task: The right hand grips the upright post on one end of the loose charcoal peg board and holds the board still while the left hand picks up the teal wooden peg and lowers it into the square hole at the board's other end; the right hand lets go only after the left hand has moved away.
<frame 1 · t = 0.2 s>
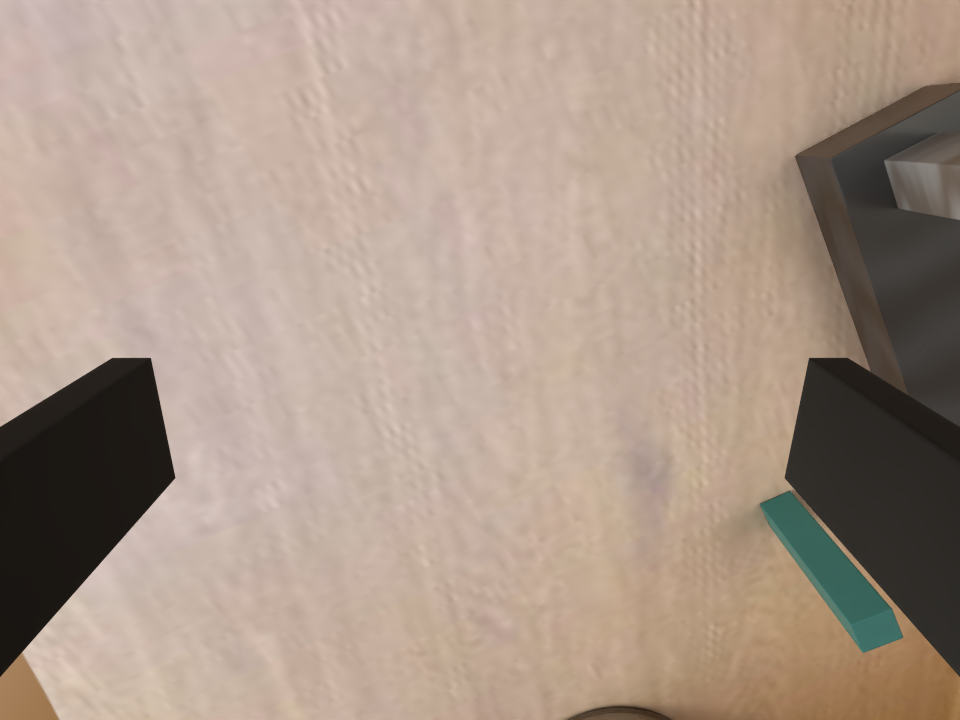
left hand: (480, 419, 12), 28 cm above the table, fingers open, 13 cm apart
peg board: (916, 305, 40), on the table
peg: (780, 508, 46), on the table
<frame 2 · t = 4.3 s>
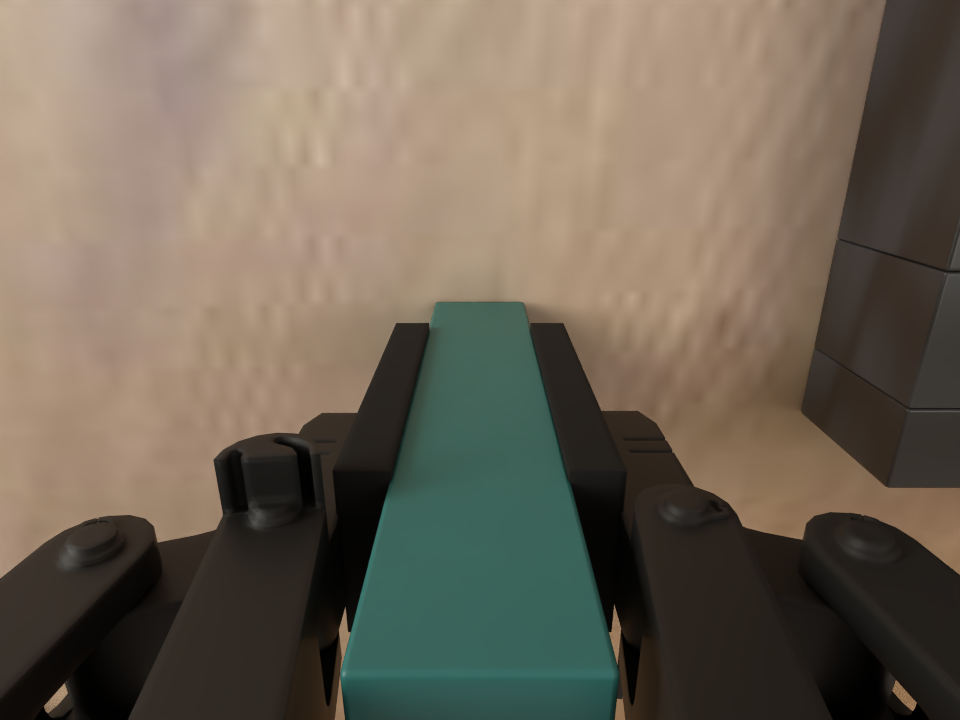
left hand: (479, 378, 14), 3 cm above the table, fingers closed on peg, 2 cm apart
peg: (479, 343, 17), on the table, touching left hand
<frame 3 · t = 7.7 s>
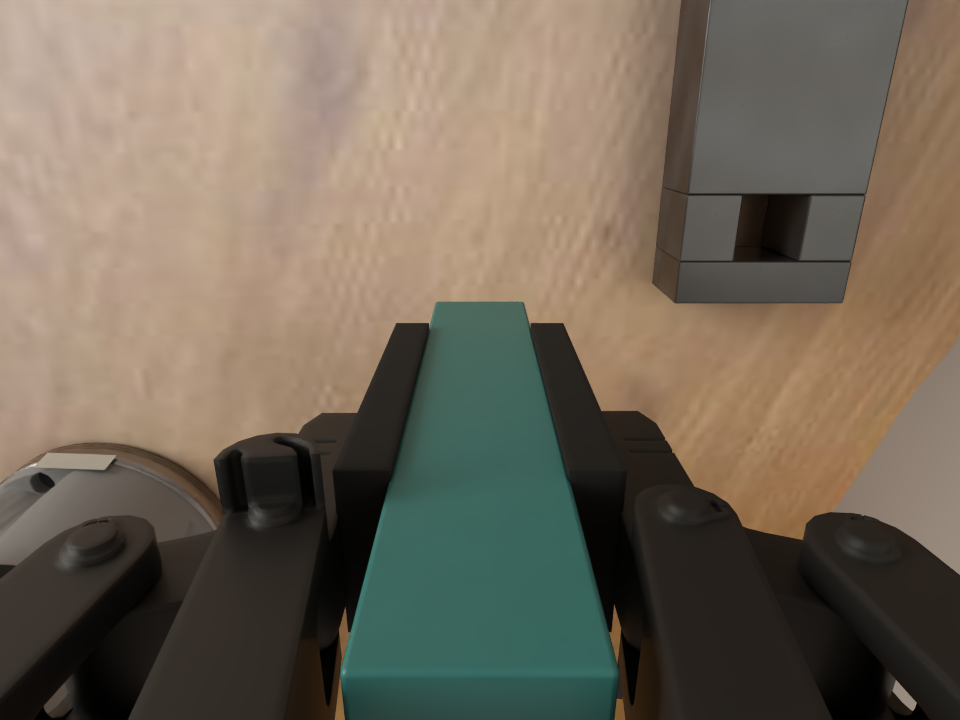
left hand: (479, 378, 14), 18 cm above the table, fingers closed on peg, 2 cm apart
peg board: (767, 7, 28), on the table, touching right hand
peg: (479, 343, 17), point 16 cm above the table, touching left hand
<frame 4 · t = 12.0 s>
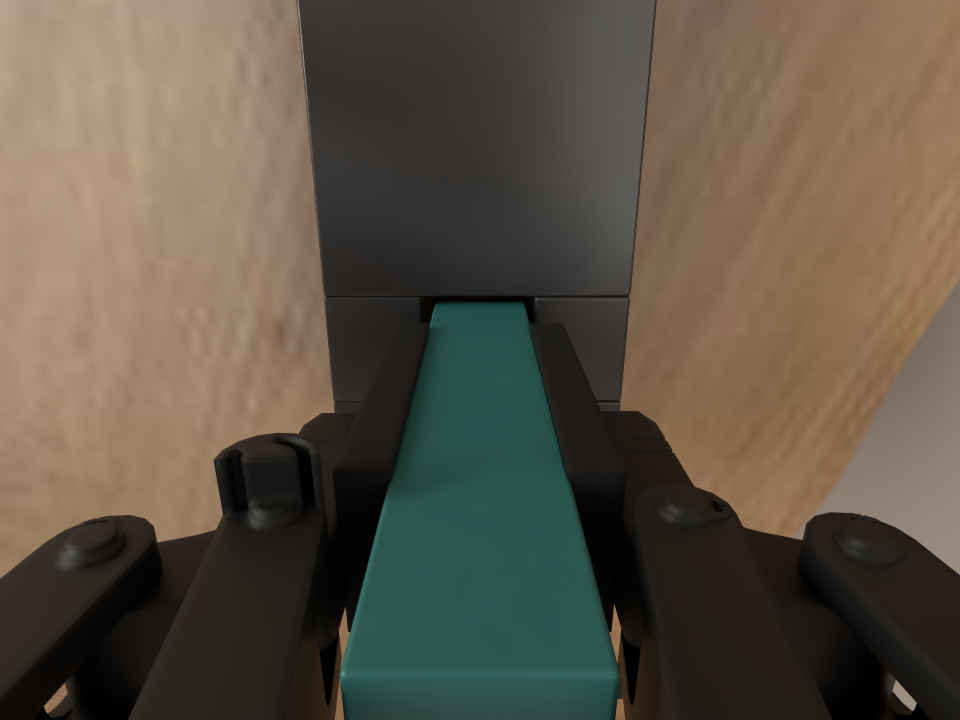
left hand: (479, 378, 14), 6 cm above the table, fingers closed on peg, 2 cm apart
peg: (479, 343, 17), point 3 cm above the table, touching left hand
when the left hand's fingers open (5 cm above the table, at t = 12.8 s): peg drops 3 cm, resting in peg board.
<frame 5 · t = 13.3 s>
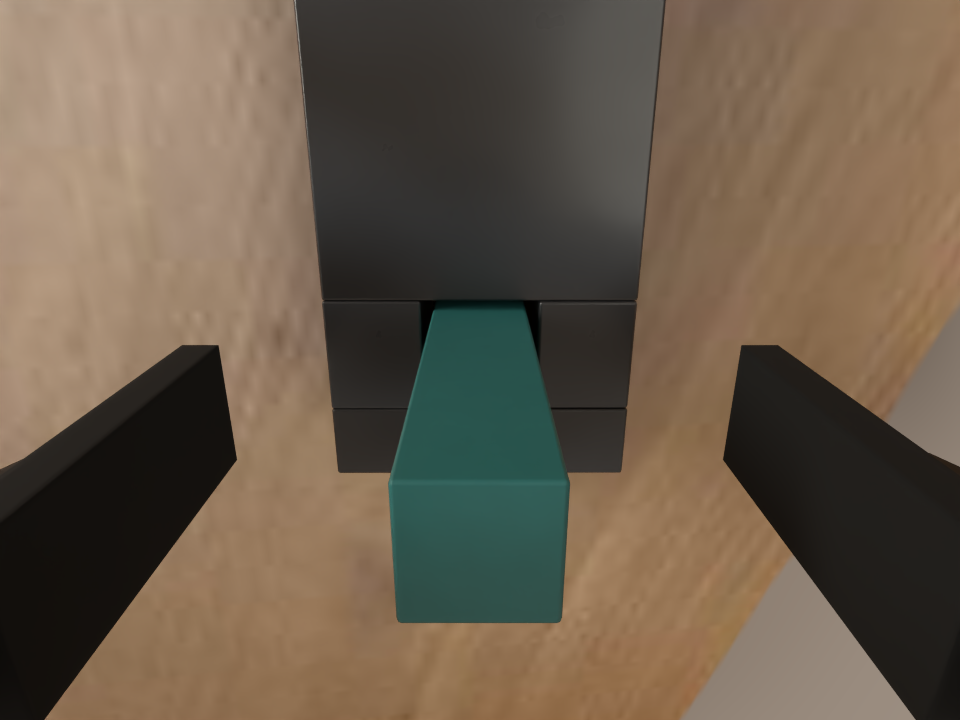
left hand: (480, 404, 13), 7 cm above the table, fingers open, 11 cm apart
peg: (479, 312, 20), resting in peg board
when the right hand's fingers open (8 cm above the table, at t = 16.5 s): peg board stays where it is, on the table.
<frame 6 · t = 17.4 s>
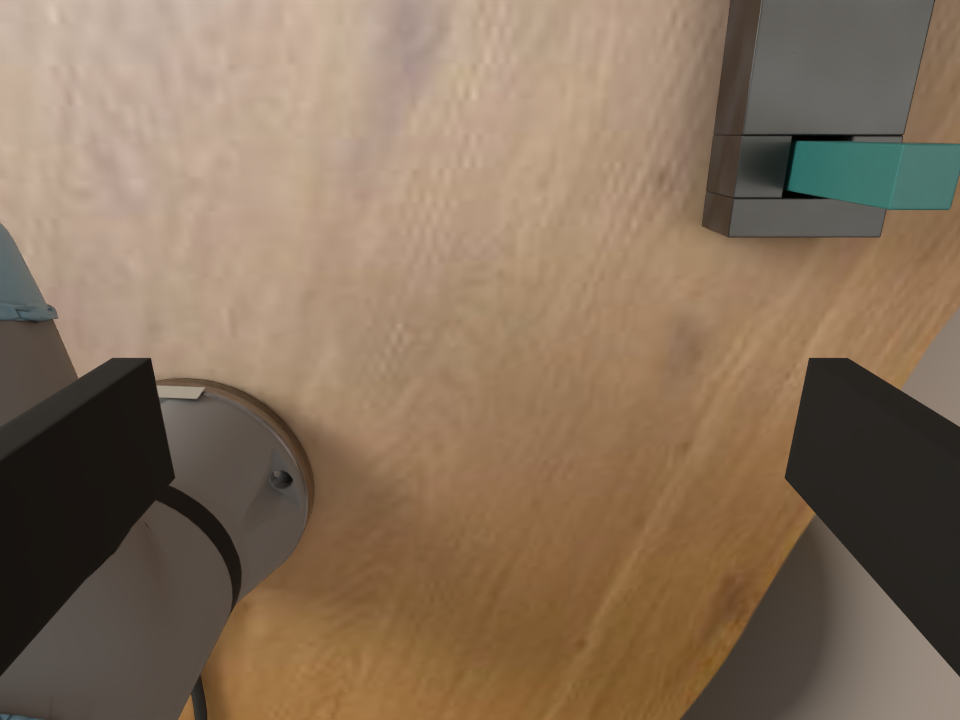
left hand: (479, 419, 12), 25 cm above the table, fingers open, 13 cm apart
peg: (780, 162, 34), resting in peg board
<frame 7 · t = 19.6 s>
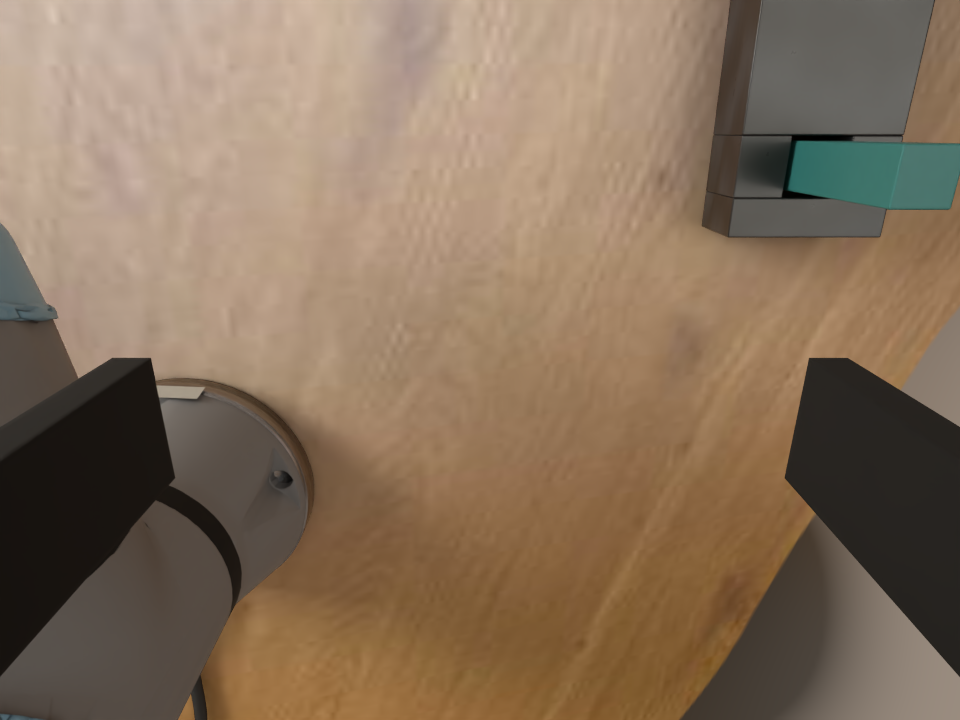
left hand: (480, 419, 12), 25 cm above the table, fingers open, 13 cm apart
peg: (780, 162, 34), resting in peg board
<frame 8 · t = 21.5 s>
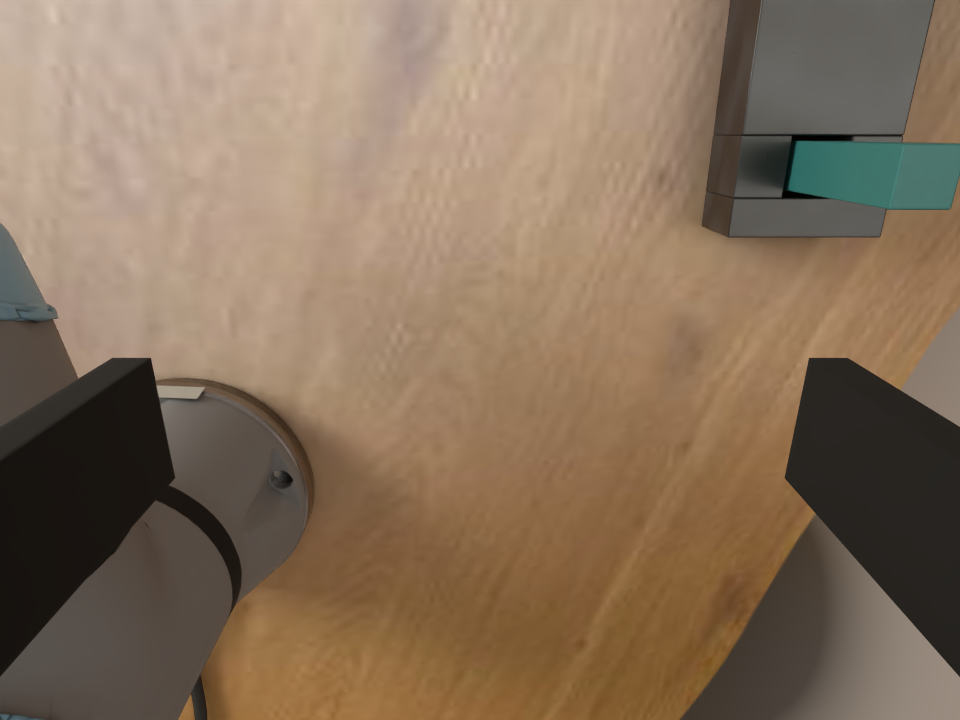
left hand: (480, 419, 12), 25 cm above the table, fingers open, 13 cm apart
peg: (780, 162, 34), resting in peg board
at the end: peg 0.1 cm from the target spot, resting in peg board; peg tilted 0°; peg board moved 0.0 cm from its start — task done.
